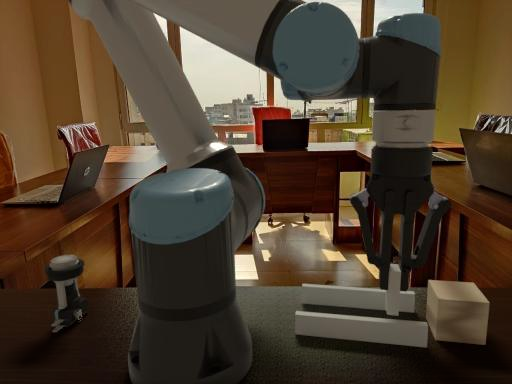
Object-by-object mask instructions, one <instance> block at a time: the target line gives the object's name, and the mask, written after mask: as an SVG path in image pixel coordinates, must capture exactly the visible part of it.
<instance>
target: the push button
mask: <svg viewBox="0 0 512 384" xmlns="http://www.w3.org/2000/svg"><path fill="white" fill-rule="evenodd" d="M84 267H85V260H83V259H80V258H78V257H77V255H75V254H63V255H59V256H56V257H54V258H53V257H52V259H50V263H49V264H48V265H46V266H45V267H44V268H43V271H44V273H45V274H46V278H47V280H48V281H53V283H54V284H55V287H56V295H57V307H58V309H56V310H55V312H54V317H55V320H54V322H53V323H52V324H51V325H50V326H51V327H55V328H54V329H53V330H51V331H52V333H57V332H58V331H60V330H61V329H64V328H63V327H64V326H68V325H69V324H70V323H71V322H73V321H74V320H75V319H76V318H77V319H78V320H80V319H81V318H80V319H79V316H81V317H83V316H82V313H83V314H84V313H85V312H86V311H88V312H89V309H88V302H87V301H88V300H87V298H81V294H80V292H79V290H80V289H79V284H78V278H79V277H80V276H81V275H82V274H83V273H84V272H85V271H84V269H85V268H84ZM80 321H81V320H80ZM57 325H58V326H57Z"/></svg>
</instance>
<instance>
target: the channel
mask: <svg viewBox="0 0 512 384" xmlns="http://www.w3.org/2000/svg"><path fill="white" fill-rule="evenodd" d="M301 285H302V286H301V304H304V305H315V306H328V307H330V306H331V307H341V308H342V307H343V308H350V309H351V308H354V309H364V310H374V311H375V310H377V311H386V307H385V297H386V290H381V289H380V288H369V287H358V286H357V287H356V286H355V287H354V286H341V285H329V284H328V285H327V284H313V283H312V284H311V283H302V284H301ZM415 303H416V292H415V291H414V290H413V291H412V290H407V292H405V291H400V298H399V312H402V313H415ZM294 323H295V324H294V327H295V328H294V329H295V331H294V333H295V335H297V336H298V335H299V336H307V337H308V336H309V337H310V336H311V337H317V338H318V337H320V338H329V339H338V340H349V341H357V342H358V341H360V342H369V343H379V344H388V345H389V344H390V345H396V346H397V345H400V346H409V347H417V348H428V335H429V324H428V321H427V322H426V321H418V320H417V321H416V320H404V319H396V318H395V319H392V318H381V317H370V316H359V315H347V314H338V313H337V314H334V313H324V312H313V311H301V310H296V311H295V315H294Z"/></svg>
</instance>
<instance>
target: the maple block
mask: <svg viewBox="0 0 512 384" xmlns="http://www.w3.org/2000/svg"><path fill="white" fill-rule="evenodd" d="M426 294H427V295H426V296H427V297H426V310H425V318H426V320H427V324H428V327H429V328H430V330H431V333H432V335H433V337H434V340H435V341H439V342H440V341H443V342H452V343H464V344H473V345H474V344H475V345H484V346H486V342H487V334H488V332H487V331H488V321H489V313H490V301H489V300H488V299H487V297H486V296H485V295H484V294H483V292H482V291H481V290H480V289H479V288H478V286H477V285H476V284H475V282H469V281H468V282H467V281H466V282H465V281H451V280H450V281H449V280H437V279H436V280H435V279H434V280H433V279H428V280H427V293H426Z"/></svg>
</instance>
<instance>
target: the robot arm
mask: <svg viewBox="0 0 512 384" xmlns="http://www.w3.org/2000/svg"><path fill="white" fill-rule="evenodd" d="M67 1H68V2H69V4H70V6H71V8H72V10H73V12H74V13H75V14H76V15H77V16H78V17H79V18H81V19H83V20H86V21H90V22H91V23H92V25H93V27H94V29H95V31H96V33H97V34H98V36H99V38H100V40H101V42H102V44H103V46H104V48H105V49H106V52H107V54H108V55H109V58H110V59H111V61H112V63H113V65H114V67H115V68H116V69H115V70H116V71H117V73H118V74H119V76H120V78H121V80H122V81H123V84H124V85H125V87H126V89H127V92H128V93H129V95H130V97H131V99H132V101H133V102H134V104H135V106H136V108H137V110H138V112H139V114H140V116H141V118H142V120H143V121H144V124H145V125H146V128H147V129H148V131H149V133H150V135H151V137H152V138H153V141H154V143H155V145H156V146H157V148H158V150H159V152H160V154H161V156H162V158H163V159H164V161H165V163H166V166H167V169H166V172H160V173H156V174H154V175H151V176H148V177H146V178H144V179H142V180H141V181H139V182H137V184H135V186H133V188H132V190H131V192H130V195H129V213H128V214H129V215H128V225H129V228H130V235H131V242H132V253H133V262H134V272H135V282H136V291H137V292H136V293H137V301H138V314H137V318H136V321H135V325H134V329H133V333H132V336H131V337H132V338H131V340H130V341H131V342H130V345H129V350H128V355H127V356H128V357H127V363H128V373H129V379H130V382H131V384H239V383H240V382H241V381H242V380H243V379H244V378H245V376H246V375H247V374H248V372H249V371H250V369H251V367H252V364H253V340H252V336H251V332H250V330H249V327H248V325H247V322H246V320H245V318H244V315H243V313H242V309H241V307H240V305H239V302H238V299H237V286H236V285H237V284H236V282H237V280H236V257H235V256H236V251H237V250H238V248H239V247H240V246H241V245H242V244H243V243H244V241H245V240H246V239H247V238H248V237H250V236H251V234H252V233H254V232H255V230H256V229H257V228H258V227H259V225H260V222H261V220H262V217H263V215H264V211H265V207H266V194H265V189H264V187H263V185H262V182H261V181H260V179H259V177H258V176H257V175H256V174H255V173H254V172H253V171H251V170H250V169H249V168H247V167H244V165H243V163H242V161H241V159H240V157H239V155H238V153H237V151H236V149H235V147H234V146H233V144H229V143H227V142H223V141H221V140H219V138H218V136H217V134H216V132H215V130H214V129H213V126H212V125H211V122H210V121H209V119H208V116H207V115H206V113H205V111H204V109H203V107H202V105H201V103H200V101H199V99H198V97H197V95H196V93H195V92H194V91H195V90H194V89H193V87H192V85H191V83H190V82H189V80H188V78H187V76H186V74H185V72H184V70H183V68H182V66H181V65H180V62H179V60H178V58H177V56H176V54H175V52H174V50H173V48H172V47H171V45H170V43H169V40H168V38H167V36H166V35H165V33H164V31H163V29H162V27H161V25H160V24H159V21H158V19H157V17H156V15H157V16H158V17H160V18H162V19H164V20H166V21H169V22H170V23H172V24H173V25H176V26H178V27H180V28H181V29H184V30H186V31H188V32H189V33H191V34H193V35H195V36H197V37H199V38H200V39H203V40H204V41H207V42H208V43H210V44H212V45H214V46H216V47H218V48H220V49H222V50H224V51H225V52H228V53H230V54H231V55H234V56H235V57H236V58H237V57H238V59H241V60H243V61H245V62H247V63H249V64H251V65H252V66H254V67H256V68H258V69H260V70H261V71H263V72H265V73H267V74H269V75H270V76H272V77H274V78H275V79H279V80H280V87H281V88H280V89H281V91H282V95H283V96H284V98H285V99H287V100H289V101H303V102H312V101H328V100H329V101H331V100H332V101H333V100H335V101H336V100H352V99H353V100H354V99H362V100H363V99H364V100H366V99H373V112H372V127H371V128H372V129H371V130H372V131H371V132H372V133H371V140H372V141H373V142H374V143H376V144H375V145H373V146H372V148H371V150H370V151H371V153H370V154H371V155H370V175H369V179H368V180H367V182H366V184H365V188H364V189H362V190H360V191H358V192H357V193H354V192H353V193H351V194H350V196H349V201H350V202H349V203H350V204H351V206H352V207H353V209H354V211H355V212H356V214H357V217H358V223H359V227H360V232H361V237H362V240H363V246H364V250H365V255H366V259H367V262H368V264H370V265H375V266H377V267H379V268H378V287H379V289H381V290H386V297H385V307H386V310H385V311H386V315H388V316H397V317H398V316H399V312H400V311H399V298H400V291H405V292H407V291H409V290H408V289H409V281H410V273H411V272H412V270H413V269H414V268H415V269H416V268H423V267H424V266H425V265H426V262H427V259H428V257H429V254H430V251H431V248H432V246H433V244H434V240H435V237H436V234H437V232H438V229H439V227H440V226H439V225H440V224H441V222H442V218H443V216H444V215H445V214H446V213H447V212H448V211H449V210H450V208H452V205H453V204H452V201H451V200H450V199H449V198H447V197H446V196H444V195H440V194H439V193H438V192H436V191H435V186H434V184H433V182H432V166H433V165H432V164H433V155H434V154H433V152H434V150H433V149H432V147H431V146H430V145H429V143H432V142H433V141H434V140H435V139H434V138H435V127H436V125H435V123H436V122H435V121H436V111H437V96H438V85H439V75H440V64H441V58H442V55H443V53H442V51H441V50H442V45H441V44H442V25H441V24H442V23H441V21H440V19H439V18H438V17H437V16H435V15H433V14H430V13H422V12H420V13H419V12H411V13H403V14H400V15H399V14H398V15H392V16H390V17H386V18H384V19H382V20H380V21H379V23H378V25H377V27H376V32H375V34H374V35H373V36H370V37H363V38H362V37H361V38H359V36H358V33H357V30H356V29H357V28H355V25H354V24H353V22H352V20H351V18H350V17H349V15H347V13H346V12H345V11H343V10H342V9H341V8H340V7H338V6H336V5H334V4H331V3H330V2H329V3H328V2H324V1H312V2H307V1H305V0H67ZM369 197H370V198H371V200H372V201H373V203H374V204H375V205H376V207H377V208H378V209H379V211H380V212H381V224H380V239H379V240H380V243H379V253H377V252H376V251H375V250H376V249H375V246H374V241H373V236H372V231H371V226H370V221H369V216H368V214H367V213H368V212H367V209H366V207H368V205H369V200H368V199H369ZM428 200H429V201H428ZM427 201H428V208H429V209H428V211H427V212H426V215H425V218H424V222H423V224H422V227H421V230H420V233H419V236H418V239H417V241H416V244H415V247H414V251H413V252H412V248H413V238H414V237H413V234H414V233H413V232H414V223H415V215H416V213H418V211H419V210H420V209H421V208H422V207H423V206H424V205H425V204H426V203H427ZM398 214H399V215H400V230H399V243H398V244H399V247H398V263H397V264H396V263H391V260H392V259H391V258H392V257H391V256H392V242H393V227H394V225H393V224H394V219H395V215H398ZM412 253H413V254H412Z"/></svg>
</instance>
